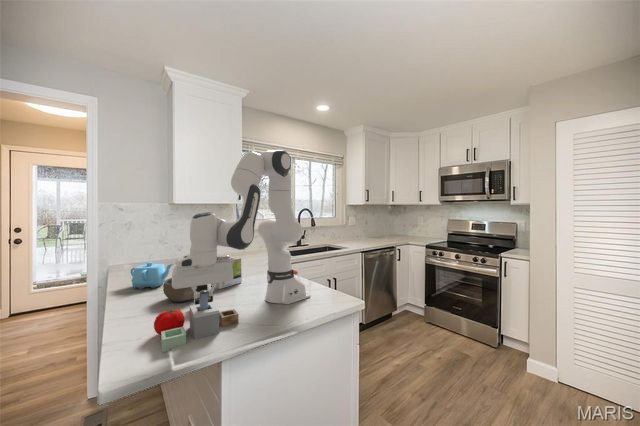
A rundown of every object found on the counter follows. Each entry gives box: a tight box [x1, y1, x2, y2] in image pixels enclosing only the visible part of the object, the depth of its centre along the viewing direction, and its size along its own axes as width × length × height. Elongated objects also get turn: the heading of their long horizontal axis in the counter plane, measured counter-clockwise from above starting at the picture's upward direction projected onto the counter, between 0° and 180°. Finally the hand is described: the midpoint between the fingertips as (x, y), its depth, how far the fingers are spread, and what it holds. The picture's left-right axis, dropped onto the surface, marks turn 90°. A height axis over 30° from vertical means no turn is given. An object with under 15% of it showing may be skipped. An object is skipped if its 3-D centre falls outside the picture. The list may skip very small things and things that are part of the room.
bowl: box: [162, 277, 196, 303], centre depth 131 cm, size 17×18×10 cm
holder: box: [219, 308, 240, 328], centre depth 103 cm, size 6×6×4 cm
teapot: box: [129, 261, 174, 290], centre depth 151 cm, size 18×16×14 cm
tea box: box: [215, 256, 242, 290], centre depth 155 cm, size 15×10×15 cm
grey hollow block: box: [189, 301, 220, 340], centre depth 96 cm, size 8×10×9 cm
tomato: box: [153, 308, 186, 337], centre depth 96 cm, size 9×10×8 cm
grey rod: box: [199, 290, 208, 311], centre depth 96 cm, size 3×3×10 cm
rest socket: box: [160, 326, 187, 353], centre depth 88 cm, size 7×7×4 cm
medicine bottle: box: [193, 284, 214, 305], centre depth 117 cm, size 7×7×12 cm
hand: (203, 296), depth 96 cm, fingers closed on grey rod, 3 cm apart
